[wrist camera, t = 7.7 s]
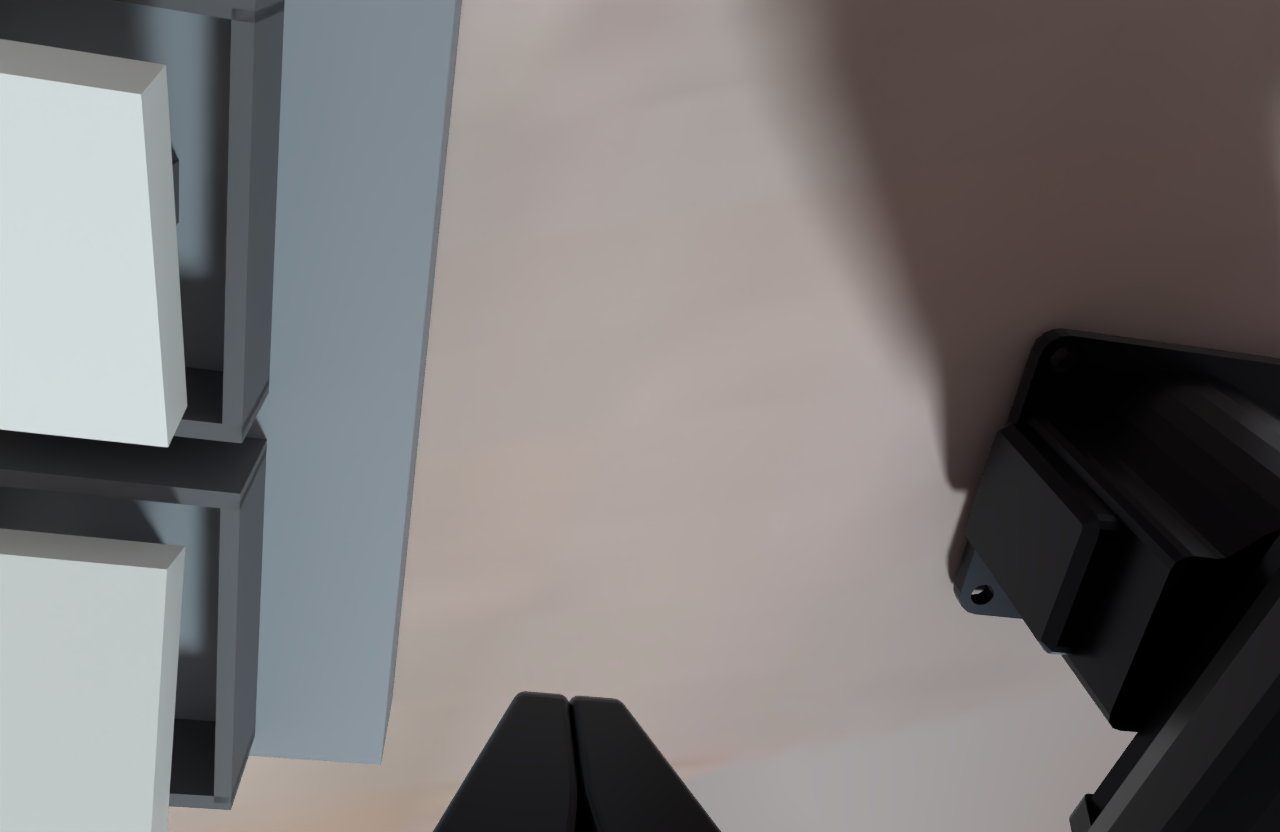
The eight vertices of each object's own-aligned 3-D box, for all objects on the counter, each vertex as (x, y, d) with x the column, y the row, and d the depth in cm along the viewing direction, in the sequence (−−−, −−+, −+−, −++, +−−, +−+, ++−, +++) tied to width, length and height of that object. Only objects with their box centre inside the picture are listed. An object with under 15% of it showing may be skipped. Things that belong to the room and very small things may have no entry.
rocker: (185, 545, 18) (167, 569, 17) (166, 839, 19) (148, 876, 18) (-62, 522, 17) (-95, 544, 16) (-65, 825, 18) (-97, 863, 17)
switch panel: (520, -591, 16) (517, -764, 12) (391, 701, 25) (364, 859, 21) (-265, -790, 14) (-584, -1067, 10) (-99, 663, 23) (-234, 825, 19)
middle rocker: (165, 64, 14) (141, 94, 13) (187, 405, 17) (168, 447, 16) (-156, 14, 13) (-202, 42, 12) (-73, 376, 16) (-107, 418, 15)
